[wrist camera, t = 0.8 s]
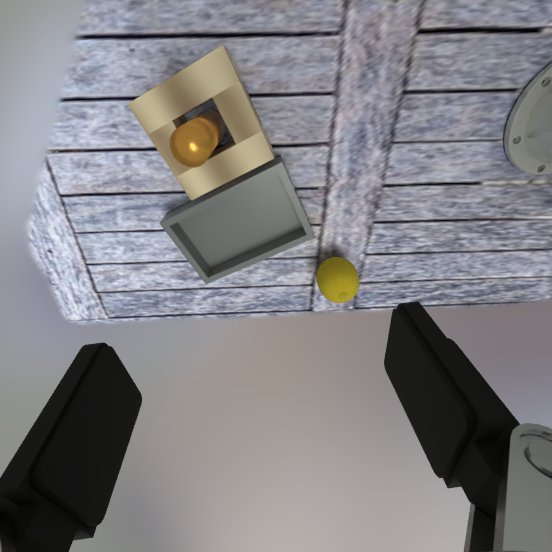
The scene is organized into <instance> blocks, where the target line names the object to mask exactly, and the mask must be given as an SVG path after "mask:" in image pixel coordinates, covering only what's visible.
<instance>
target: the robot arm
mask: <svg viewBox="0 0 552 552" xmlns="http://www.w3.org/2000/svg"><path fill="white" fill-rule="evenodd" d="M504 146H505V152H506V155H507V157H508V159H509V161H510V162H511V163H512V164H513V165H514V167H516V168H518V169H519V170H521V171H524V172H527V173H529V174H534V175H547V174H552V63H551V64H549V65H548V66H547V67H546V68H545V69H544V70H542V71H541V72H540V73H539V74H538V75H537V76H536V77H535V78H534V79H533V80H532V82H531V83H530V84H529V85H528V86H527V87H526V89H525V90H524V91H523V93H522V94H521V96H520V97H519V98H518V100H517V102H516V104H515V106H514V108H513V109H512V111H511V114H510V117H509V119H508V122H507V126H506V130H505V136H504ZM384 365H385V370H386V372H387V374H388V377H389V379H390V381H391V383H392V385H393V387H394V389H395V391H396V393H397V395H398V398H399V399H400V402H401V404H402V406H403V408H404V410H405V412H406V414H407V416H408V418H409V421H410V423H411V425H412V427H413V429H414V431H415V433H416V435H417V437H418V439H419V442H420V444H421V446H422V448H423V450H424V452H425V454H426V456H427V458H428V460H429V462H430V465H431V467H432V469H433V471H434V473H435V474H436V475H437V476H438V477H439V478H443V479H444V481H445V484H446V485H447V488H454V487H462V488H463V490H464V492H465V494H466V496H467V498H468V500H469V501H470V502H471V505H470V512H469V519H468V525H467V532H466V540H465V546H464V552H552V429H551V428H549V427H545V426H542V425H539V424H530V423H526V424H522V425H520V424H519V422H518V421H517V420H516V418H515V417H514V416H513V415H512V413H511V412H510V411H509V410H508V408H507V407H506V406H505V405H504V403H503V402H502V401H501V400H500V398H499V397H498V396H497V395H496V393H495V392H494V391H493V390H492V388H491V387H490V386H489V384H488V383H487V382H486V381H485V380H484V378H483V377H482V376H481V374H480V373H479V372H478V371H477V370H476V368H475V367H474V366H473V364H472V363H471V362H470V361H469V359H468V358H467V357H466V356H465V354H464V353H463V352H462V350H461V349H460V348H459V347H458V345H457V344H456V343H455V342H454V341H453V340H451V339H449V338H446V336H445V335H444V334H443V332H442V331H441V330H440V329H439V327H438V326H437V325H436V323H435V322H434V321H433V319H432V318H431V317H430V316H429V314H428V313H427V312H426V310H425V309H424V308H423V307H422V305H421V304H420V303H419V302H417V301H416V302H409V303H401V304H399V305H398V307H397V309H393V312H392V317H391V324H390V329H389V335H388V342H387V347H386V353H385V359H384ZM141 403H142V396H141V393H140V391H139V390H138V388H137V386H136V385H135V383H134V382H133V380H132V378H131V377H130V375H129V373H128V372H127V370H126V368H125V367H124V365H123V364H122V362H121V360H120V359H119V357H118V355H117V354H116V352H115V350H114V349H113V348H112V347H111V346H108V345H107V344H106V343H96V344H89V345H84V346H83V347H82V348H81V349H80V351H79V352H78V354H77V356H76V357H75V359H74V360H73V362H72V364H71V365H70V367H69V369H68V370H67V372H66V373H65V375H64V377H63V378H62V380H61V381H60V383H59V385H58V386H57V388H56V389H55V391H54V393H53V394H52V396H51V397H50V399H49V401H48V402H47V404H46V406H45V407H44V409H43V411H42V412H41V414H40V415H39V417H38V418H37V420H36V421H35V423H34V425H33V426H32V428H31V430H30V431H29V433H28V435H27V436H26V438H25V439H24V441H23V443H22V444H21V446H20V447H19V449H18V451H17V452H16V454H15V455H14V457H13V459H12V460H11V462H10V463H9V465H8V467H7V468H6V470H5V471H4V473H3V475H2V476H1V478H0V552H69V549H70V547H71V544H72V541H73V540H79V539H86V538H93V536H94V533H95V530H96V527H97V525H99V524H100V523H101V522H102V520H103V519H104V516H105V514H106V511H107V508H108V505H109V501H110V498H111V495H112V492H113V489H114V486H115V483H116V480H117V477H118V474H119V471H120V468H121V465H122V462H123V459H124V456H125V453H126V450H127V447H128V444H129V441H130V437H131V434H132V431H133V428H134V425H135V422H136V419H137V416H138V413H139V410H140V407H141Z"/></svg>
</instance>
